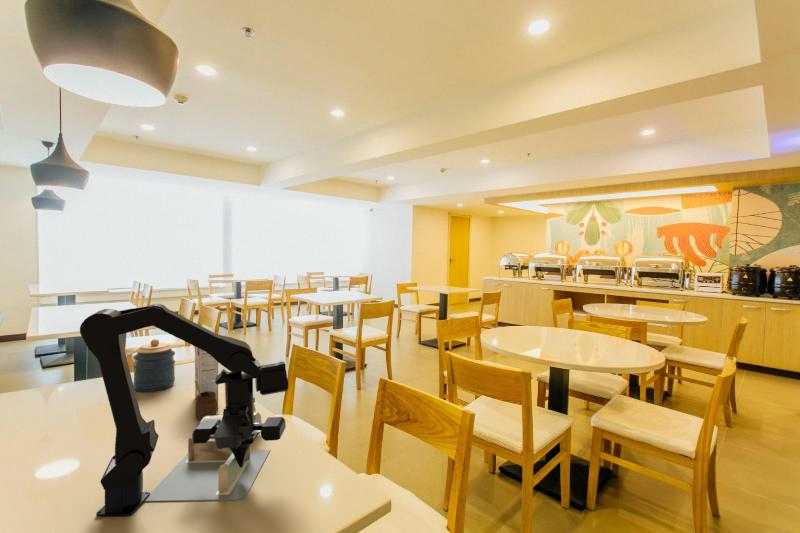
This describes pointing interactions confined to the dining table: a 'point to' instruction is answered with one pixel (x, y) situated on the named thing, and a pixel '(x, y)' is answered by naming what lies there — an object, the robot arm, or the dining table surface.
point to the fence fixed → (208, 451)
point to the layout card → (207, 480)
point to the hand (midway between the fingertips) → (241, 466)
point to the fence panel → (227, 473)
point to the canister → (154, 367)
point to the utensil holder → (205, 403)
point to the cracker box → (205, 372)
